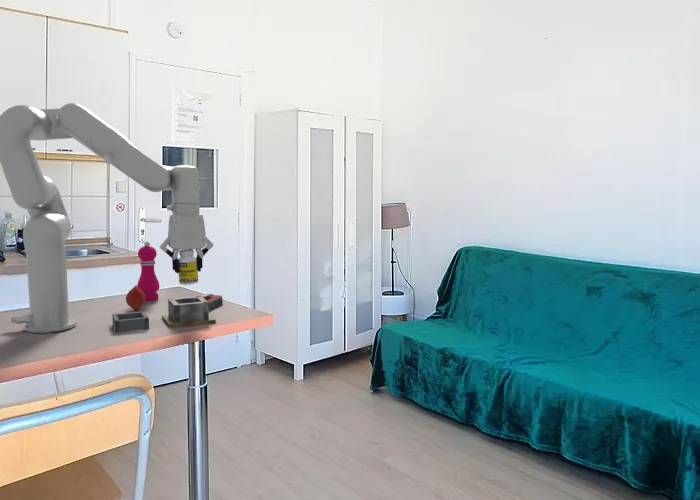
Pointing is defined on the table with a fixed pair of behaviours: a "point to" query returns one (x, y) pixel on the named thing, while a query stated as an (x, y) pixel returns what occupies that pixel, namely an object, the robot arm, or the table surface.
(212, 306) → the walkie-talkie
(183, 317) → the socket
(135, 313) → the frame
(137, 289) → the onion
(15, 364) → the table surface
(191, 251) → the supplement bottle
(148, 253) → the pepper mill
